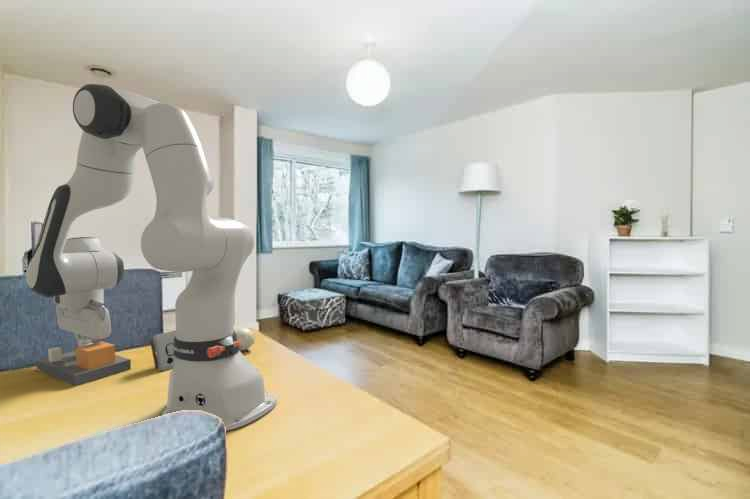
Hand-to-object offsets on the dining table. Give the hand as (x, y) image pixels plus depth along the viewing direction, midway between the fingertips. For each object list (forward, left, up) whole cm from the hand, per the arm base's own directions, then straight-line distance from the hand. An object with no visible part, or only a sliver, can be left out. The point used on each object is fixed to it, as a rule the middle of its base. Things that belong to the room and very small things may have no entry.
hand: (84, 349), depth 99 cm
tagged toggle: (-2, 0, -1) cm, 3 cm away
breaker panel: (-4, +2, -4) cm, 6 cm away
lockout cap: (-10, +2, -1) cm, 10 cm away
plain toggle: (+1, +6, -1) cm, 6 cm away
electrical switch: (-20, -11, -4) cm, 23 cm away
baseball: (-27, -29, -4) cm, 40 cm away
